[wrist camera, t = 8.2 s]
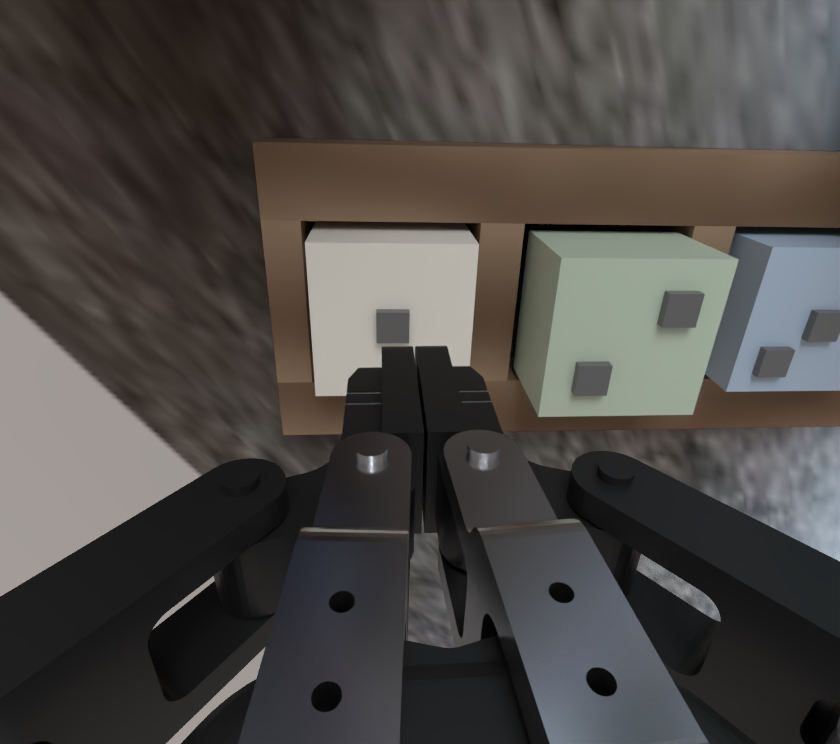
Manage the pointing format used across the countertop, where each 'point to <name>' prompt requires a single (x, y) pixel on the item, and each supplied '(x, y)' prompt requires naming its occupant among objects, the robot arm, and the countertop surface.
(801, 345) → the tile three
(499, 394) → the board
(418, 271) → the tile one
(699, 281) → the tile two
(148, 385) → the countertop surface
